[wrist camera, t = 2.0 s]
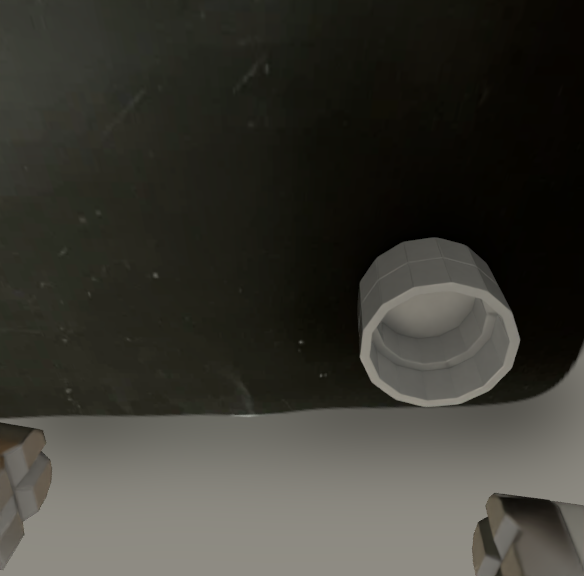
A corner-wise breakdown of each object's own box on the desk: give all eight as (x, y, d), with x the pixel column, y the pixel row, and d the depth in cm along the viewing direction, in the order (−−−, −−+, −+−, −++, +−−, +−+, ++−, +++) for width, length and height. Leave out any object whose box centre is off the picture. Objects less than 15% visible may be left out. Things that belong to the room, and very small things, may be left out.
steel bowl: (504, 235, 23) (537, 287, 19) (475, 349, 26) (498, 412, 22) (364, 228, 23) (368, 277, 20) (353, 341, 27) (354, 402, 23)
